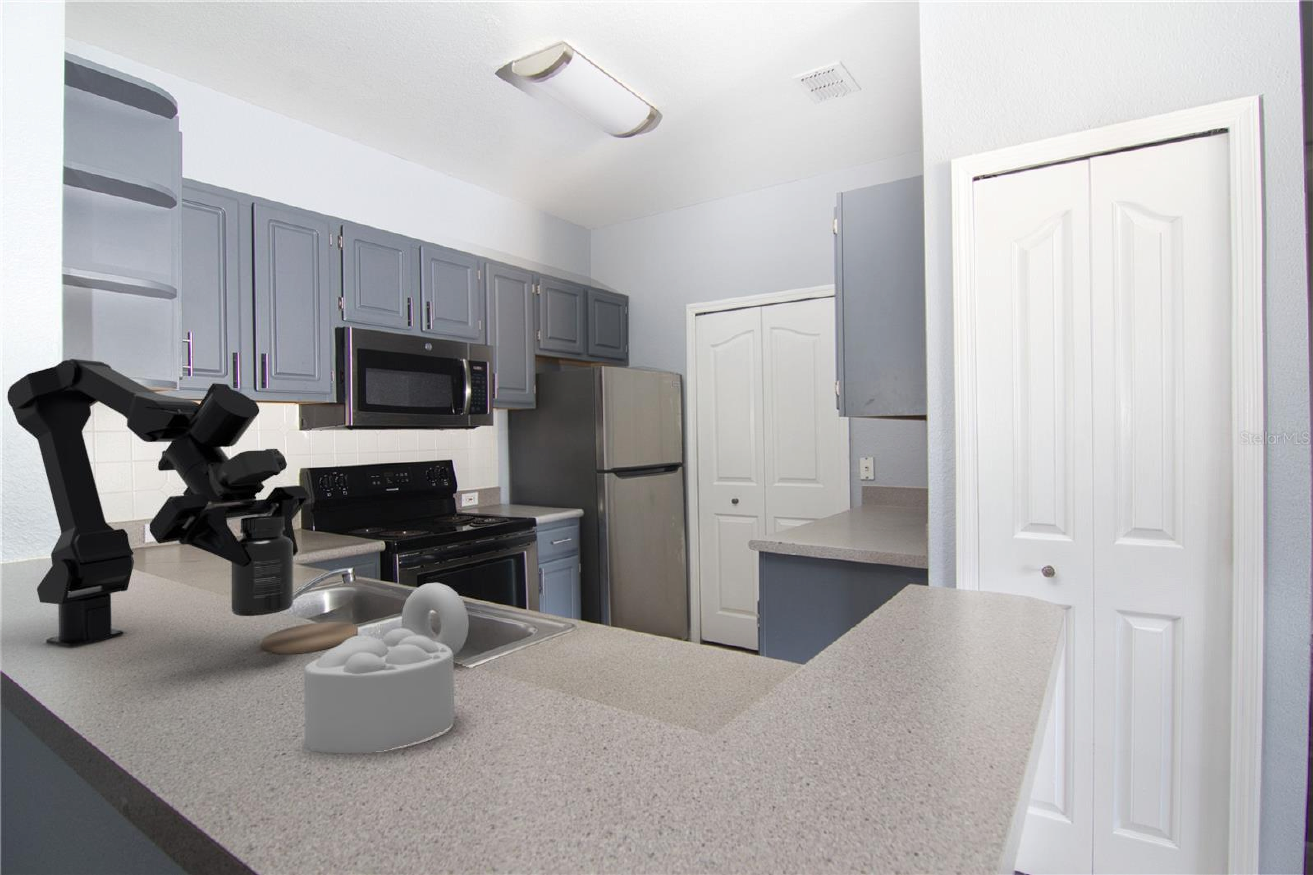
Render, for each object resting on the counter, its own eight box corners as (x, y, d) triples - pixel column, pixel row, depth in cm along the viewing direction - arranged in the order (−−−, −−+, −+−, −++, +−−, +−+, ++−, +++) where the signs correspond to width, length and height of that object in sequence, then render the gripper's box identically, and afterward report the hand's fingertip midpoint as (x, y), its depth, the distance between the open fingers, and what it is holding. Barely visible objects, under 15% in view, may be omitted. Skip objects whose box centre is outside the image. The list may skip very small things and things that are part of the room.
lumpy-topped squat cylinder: (350, 705, 68) (348, 624, 68) (469, 706, 68) (468, 624, 68) (290, 753, 58) (288, 658, 58) (431, 754, 57) (429, 658, 57)
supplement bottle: (301, 603, 86) (302, 513, 86) (279, 616, 79) (280, 519, 79) (246, 604, 85) (247, 514, 85) (219, 618, 78) (220, 520, 78)
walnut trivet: (241, 648, 88) (241, 642, 88) (317, 624, 99) (317, 619, 99) (304, 658, 83) (304, 652, 83) (376, 632, 94) (376, 626, 94)
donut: (475, 662, 81) (474, 583, 81) (456, 671, 78) (454, 589, 78) (416, 652, 85) (415, 577, 85) (395, 660, 82) (394, 582, 82)
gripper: (166, 428, 75) (237, 526, 71) (299, 429, 92) (361, 508, 89) (119, 493, 77) (186, 591, 74) (258, 482, 95) (317, 561, 91)
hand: (271, 558), depth 82 cm, fingers closed on supplement bottle, 7 cm apart
